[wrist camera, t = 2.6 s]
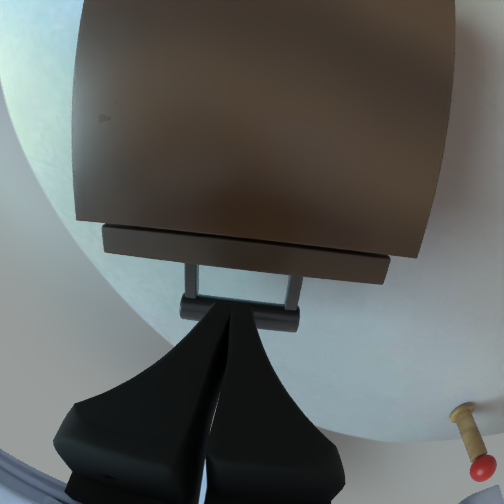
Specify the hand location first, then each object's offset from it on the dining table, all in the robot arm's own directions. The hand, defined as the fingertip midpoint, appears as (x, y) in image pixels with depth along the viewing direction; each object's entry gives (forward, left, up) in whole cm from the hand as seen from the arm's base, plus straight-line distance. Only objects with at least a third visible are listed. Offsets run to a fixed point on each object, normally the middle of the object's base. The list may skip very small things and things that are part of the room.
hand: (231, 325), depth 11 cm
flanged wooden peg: (+5, -31, -9) cm, 32 cm away
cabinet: (+7, +7, -9) cm, 13 cm away
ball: (+5, -31, -2) cm, 31 cm away
